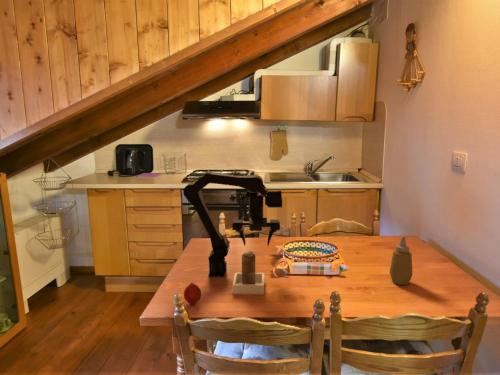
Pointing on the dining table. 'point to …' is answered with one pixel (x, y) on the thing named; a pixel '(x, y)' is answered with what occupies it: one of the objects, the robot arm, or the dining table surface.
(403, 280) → the squeeze bottle
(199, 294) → the onion
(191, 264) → the dining table surface
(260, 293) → the tray
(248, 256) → the pepper mill
